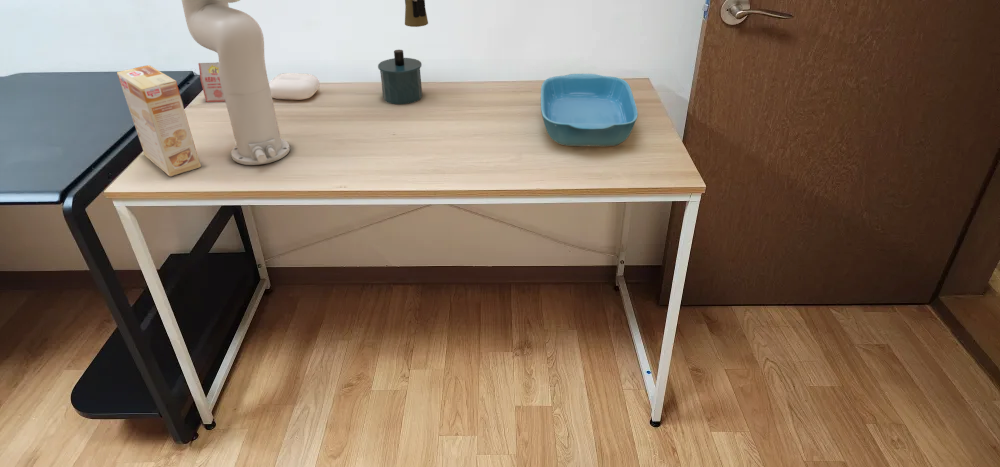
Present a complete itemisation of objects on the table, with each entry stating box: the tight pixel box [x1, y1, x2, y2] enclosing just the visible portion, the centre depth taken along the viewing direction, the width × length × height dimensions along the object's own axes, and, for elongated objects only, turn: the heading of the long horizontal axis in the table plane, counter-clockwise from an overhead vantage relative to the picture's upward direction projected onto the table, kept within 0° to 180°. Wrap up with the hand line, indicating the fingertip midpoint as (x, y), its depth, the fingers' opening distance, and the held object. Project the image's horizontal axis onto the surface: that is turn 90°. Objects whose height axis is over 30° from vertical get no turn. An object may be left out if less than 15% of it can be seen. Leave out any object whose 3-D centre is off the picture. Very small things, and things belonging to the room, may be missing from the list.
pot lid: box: [377, 49, 422, 74], centre depth 168 cm, size 11×11×5 cm
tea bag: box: [197, 61, 225, 103], centre depth 171 cm, size 4×7×10 cm, turn 95°
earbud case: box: [268, 72, 321, 101], centre depth 174 cm, size 10×13×5 cm
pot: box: [379, 68, 423, 105], centre depth 172 cm, size 10×10×8 cm
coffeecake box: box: [116, 64, 202, 177], centre depth 137 cm, size 15×7×20 cm, turn 44°
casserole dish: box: [540, 73, 639, 147], centre depth 156 cm, size 37×22×7 cm, turn 177°
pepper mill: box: [404, 0, 429, 28], centre depth 163 cm, size 6×6×11 cm
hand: (415, 13), depth 165 cm, fingers closed on pepper mill, 4 cm apart
